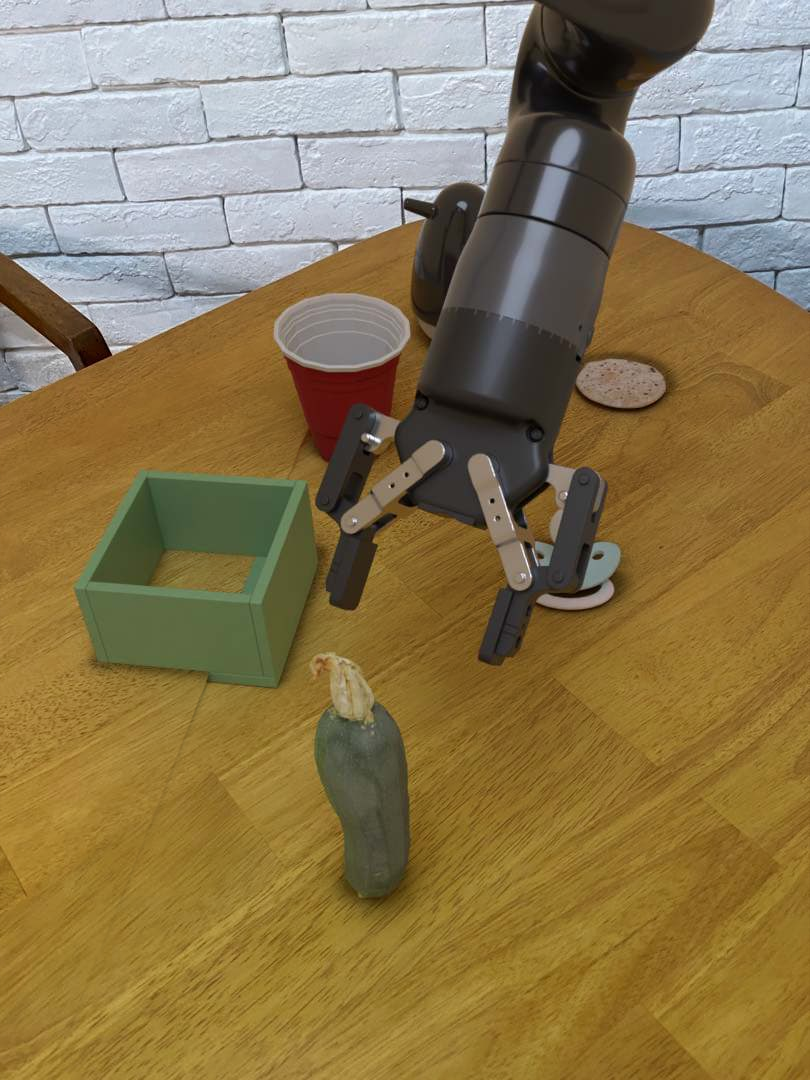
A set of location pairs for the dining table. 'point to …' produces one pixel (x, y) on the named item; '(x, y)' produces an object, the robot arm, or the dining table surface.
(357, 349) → the plastic cup
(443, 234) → the pump dispenser
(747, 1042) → the dining table surface
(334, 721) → the vegetable
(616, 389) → the flatbread
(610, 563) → the pacifier
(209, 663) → the green bin
